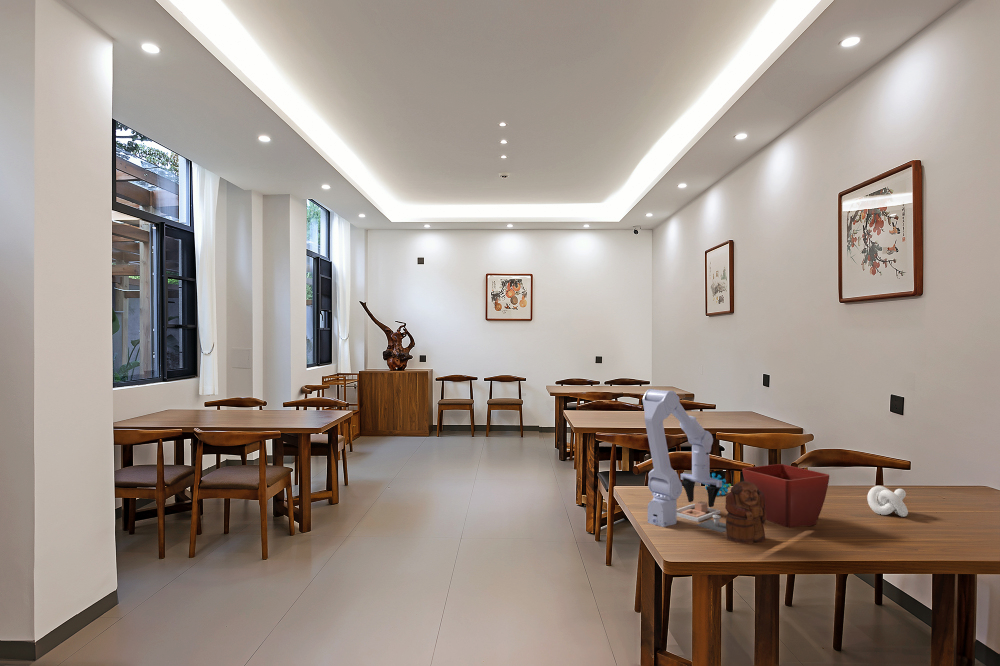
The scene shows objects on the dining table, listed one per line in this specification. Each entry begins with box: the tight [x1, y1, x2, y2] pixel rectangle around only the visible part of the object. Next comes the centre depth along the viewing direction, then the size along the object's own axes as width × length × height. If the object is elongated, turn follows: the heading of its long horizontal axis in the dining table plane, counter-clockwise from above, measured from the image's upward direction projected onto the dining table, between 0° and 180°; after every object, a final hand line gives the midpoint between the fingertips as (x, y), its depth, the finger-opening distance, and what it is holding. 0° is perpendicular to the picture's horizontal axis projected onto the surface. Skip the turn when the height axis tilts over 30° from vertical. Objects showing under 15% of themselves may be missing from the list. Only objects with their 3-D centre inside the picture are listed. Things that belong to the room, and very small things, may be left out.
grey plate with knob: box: [695, 514, 726, 534], centre depth 177 cm, size 9×9×4 cm
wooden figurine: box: [724, 480, 767, 545], centre depth 165 cm, size 12×6×18 cm, turn 110°
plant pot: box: [742, 463, 830, 528], centre depth 184 cm, size 19×19×17 cm
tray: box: [677, 503, 721, 523], centre depth 190 cm, size 14×10×2 cm
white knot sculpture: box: [866, 485, 909, 518], centre depth 193 cm, size 11×12×9 cm
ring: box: [680, 500, 709, 518], centre depth 190 cm, size 10×6×4 cm, turn 130°
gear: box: [703, 472, 732, 497], centre depth 221 cm, size 11×6×10 cm
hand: (700, 504), depth 192 cm, fingers open, 7 cm apart
